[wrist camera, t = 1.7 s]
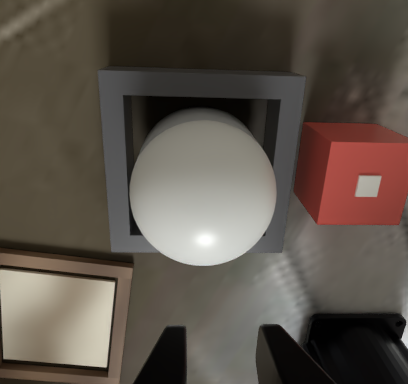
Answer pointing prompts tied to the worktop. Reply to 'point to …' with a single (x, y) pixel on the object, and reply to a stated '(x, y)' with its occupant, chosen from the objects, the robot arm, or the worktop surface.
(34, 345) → the brown flat wooden frame
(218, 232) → the dome
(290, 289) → the worktop surface
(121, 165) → the base
